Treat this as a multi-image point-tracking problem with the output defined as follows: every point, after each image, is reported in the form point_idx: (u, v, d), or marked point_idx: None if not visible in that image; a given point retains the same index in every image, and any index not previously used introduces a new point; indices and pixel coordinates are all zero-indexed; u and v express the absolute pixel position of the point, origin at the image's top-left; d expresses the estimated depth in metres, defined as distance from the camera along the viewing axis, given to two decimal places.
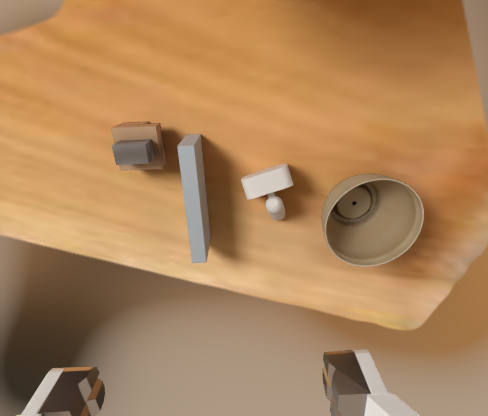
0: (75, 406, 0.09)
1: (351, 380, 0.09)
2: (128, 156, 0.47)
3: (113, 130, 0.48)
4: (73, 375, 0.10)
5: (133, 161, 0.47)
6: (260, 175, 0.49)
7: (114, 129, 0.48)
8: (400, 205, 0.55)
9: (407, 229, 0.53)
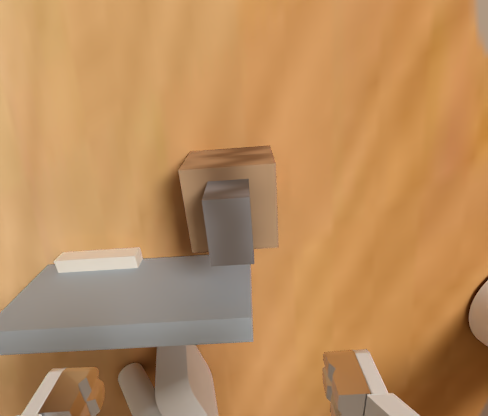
0: (75, 406, 0.09)
1: (351, 380, 0.09)
2: (224, 229, 0.20)
3: (270, 167, 0.22)
4: (73, 375, 0.10)
5: (213, 238, 0.20)
6: (201, 410, 0.29)
7: (272, 169, 0.22)
8: None
9: None
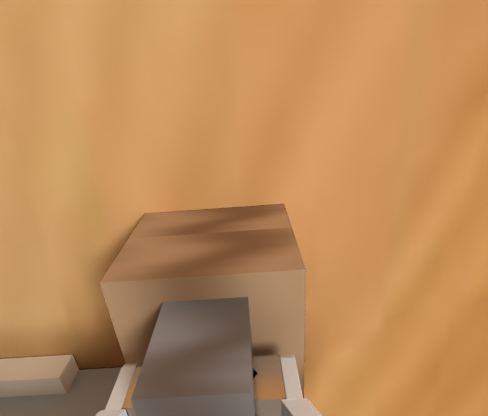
0: None
1: (270, 385, 0.09)
2: None
3: (294, 276, 0.10)
4: None
5: None
6: None
7: (298, 281, 0.10)
8: None
9: None
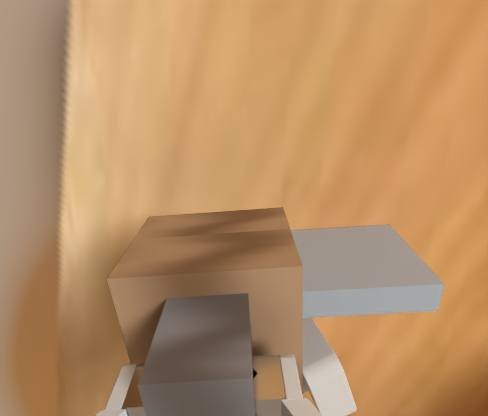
0: None
1: (270, 385, 0.09)
2: None
3: (291, 273, 0.11)
4: None
5: None
6: (347, 387, 0.28)
7: (296, 277, 0.11)
8: None
9: None
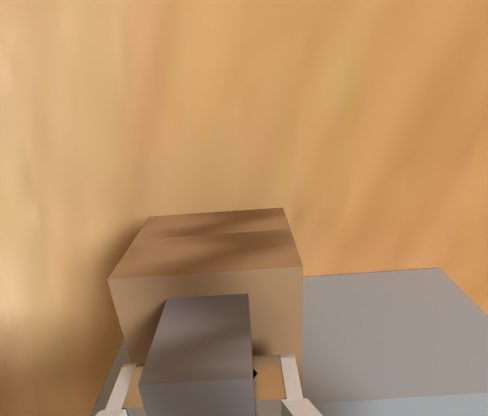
0: None
1: (270, 385, 0.09)
2: None
3: (291, 273, 0.11)
4: None
5: None
6: None
7: (296, 277, 0.11)
8: None
9: None
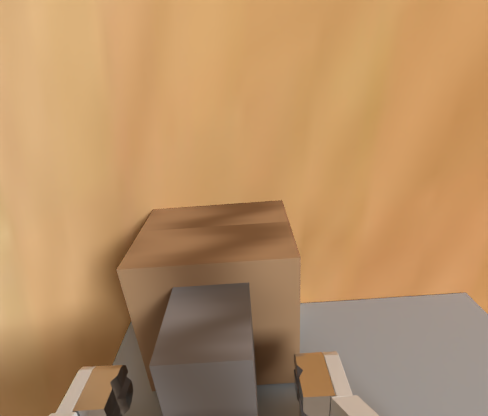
0: (108, 404, 0.09)
1: (317, 381, 0.09)
2: (201, 410, 0.10)
3: (290, 264, 0.12)
4: (104, 373, 0.10)
5: None
6: None
7: (294, 268, 0.12)
8: None
9: None
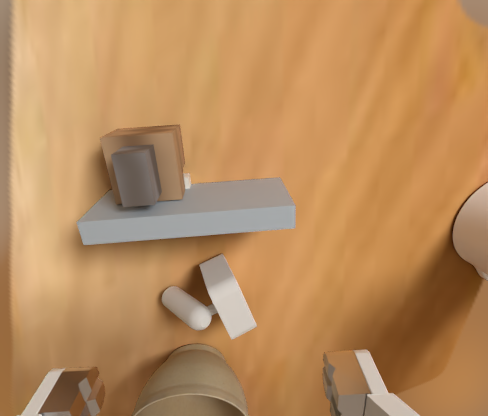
0: (75, 406, 0.09)
1: (351, 380, 0.09)
2: (130, 177, 0.28)
3: (168, 135, 0.30)
4: (73, 375, 0.10)
5: (122, 184, 0.28)
6: (245, 303, 0.36)
7: (170, 137, 0.30)
8: None
9: None
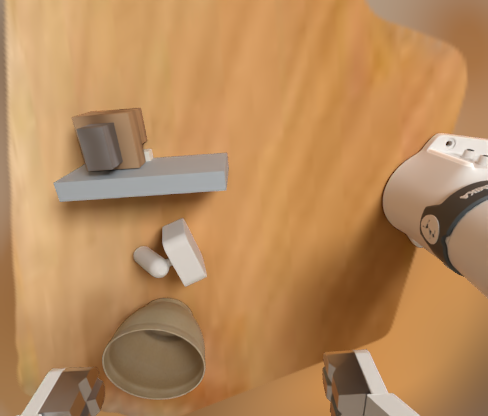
0: (75, 406, 0.09)
1: (351, 380, 0.09)
2: (92, 147, 0.36)
3: (125, 115, 0.38)
4: (73, 375, 0.10)
5: (86, 152, 0.36)
6: (194, 255, 0.43)
7: (126, 116, 0.38)
8: (173, 366, 0.56)
9: (152, 383, 0.54)
